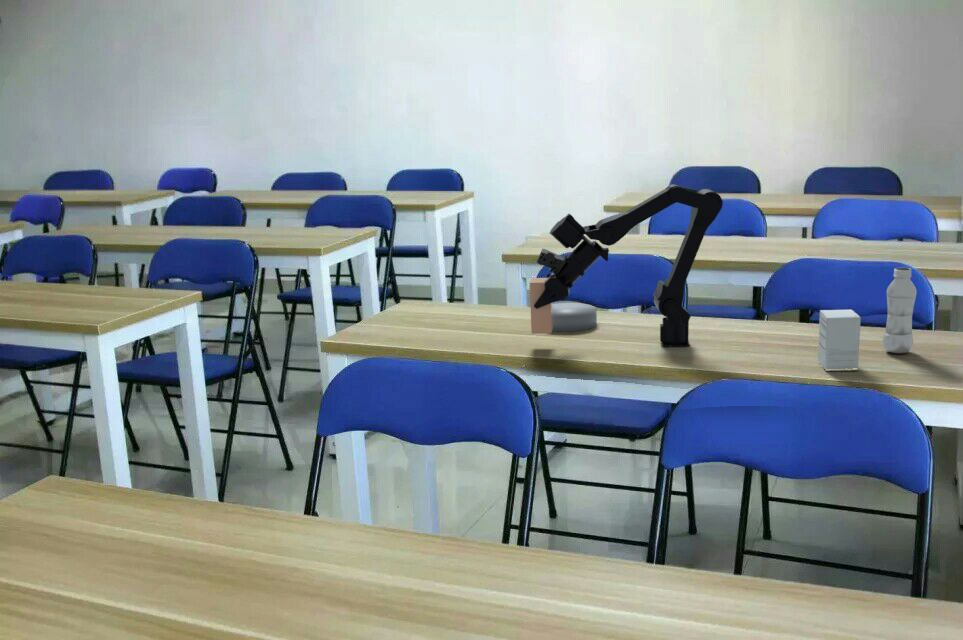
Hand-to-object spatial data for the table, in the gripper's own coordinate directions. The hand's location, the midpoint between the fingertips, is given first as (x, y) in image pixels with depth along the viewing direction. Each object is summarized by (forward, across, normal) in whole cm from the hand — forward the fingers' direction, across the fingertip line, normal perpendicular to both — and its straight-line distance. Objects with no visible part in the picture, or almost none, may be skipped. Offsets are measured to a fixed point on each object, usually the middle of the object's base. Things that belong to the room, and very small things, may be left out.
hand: (535, 304), depth 250 cm
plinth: (+3, -23, +12) cm, 26 cm away
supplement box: (-41, +17, +57) cm, 72 cm away
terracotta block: (+4, 0, +6) cm, 7 cm away
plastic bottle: (-52, +5, +68) cm, 86 cm away
